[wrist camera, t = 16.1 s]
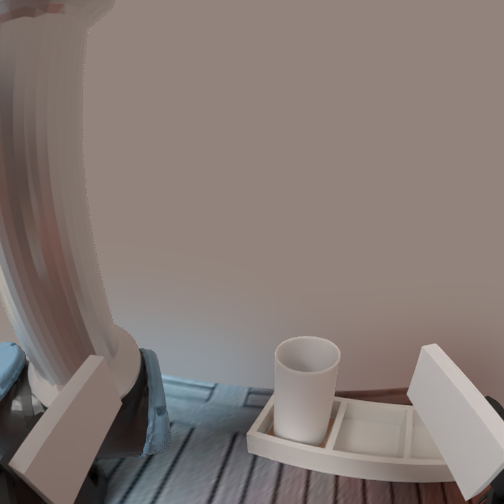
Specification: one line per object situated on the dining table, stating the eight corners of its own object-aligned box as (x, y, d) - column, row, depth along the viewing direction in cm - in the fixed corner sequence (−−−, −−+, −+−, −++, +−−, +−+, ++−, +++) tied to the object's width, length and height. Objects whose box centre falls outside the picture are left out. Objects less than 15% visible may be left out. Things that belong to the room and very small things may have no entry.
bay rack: (248, 452, 35) (246, 433, 34) (278, 403, 45) (279, 383, 44) (462, 480, 20) (478, 462, 19) (459, 425, 31) (470, 406, 30)
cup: (262, 430, 38) (260, 351, 34) (301, 407, 43) (307, 329, 39) (298, 460, 32) (308, 382, 27) (336, 431, 36) (353, 352, 32)
